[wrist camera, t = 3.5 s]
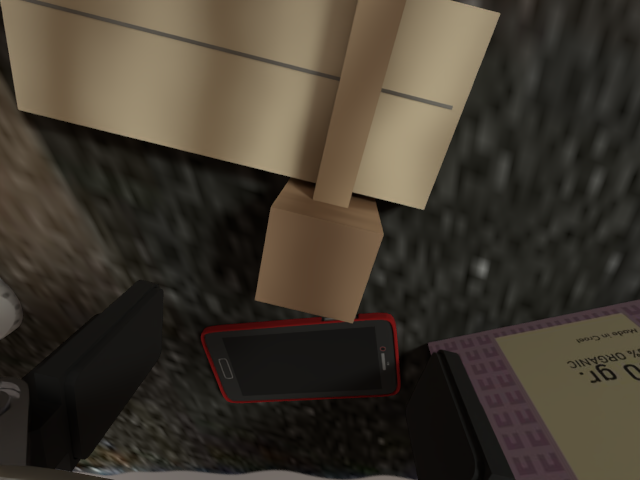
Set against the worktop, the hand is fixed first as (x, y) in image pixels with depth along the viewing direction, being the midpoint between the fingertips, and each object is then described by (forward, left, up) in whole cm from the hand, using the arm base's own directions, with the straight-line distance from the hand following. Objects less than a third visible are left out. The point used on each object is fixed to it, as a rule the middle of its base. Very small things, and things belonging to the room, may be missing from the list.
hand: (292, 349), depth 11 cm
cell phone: (-1, +11, -11) cm, 16 cm away
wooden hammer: (0, -5, -11) cm, 12 cm away
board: (+6, -8, -11) cm, 14 cm away
